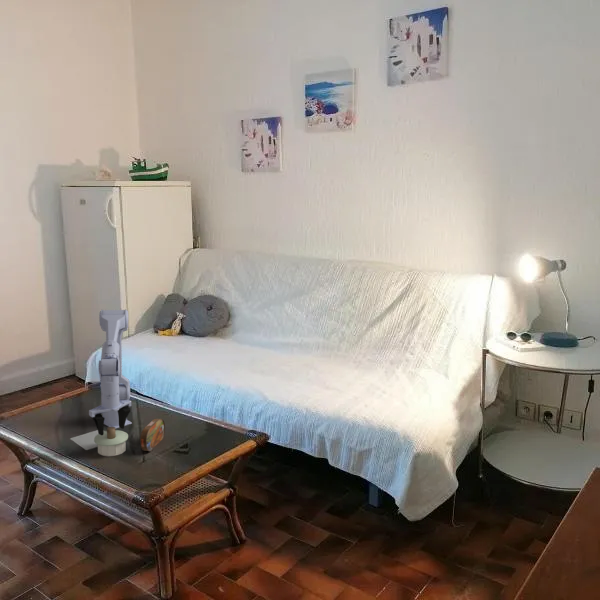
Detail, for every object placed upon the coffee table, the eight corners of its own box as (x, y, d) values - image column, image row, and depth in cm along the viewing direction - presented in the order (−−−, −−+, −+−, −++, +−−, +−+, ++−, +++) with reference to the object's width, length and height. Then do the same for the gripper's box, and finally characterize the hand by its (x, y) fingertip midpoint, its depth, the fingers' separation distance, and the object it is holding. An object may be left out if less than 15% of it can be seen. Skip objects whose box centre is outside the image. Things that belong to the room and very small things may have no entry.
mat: (69, 439, 209) (69, 438, 209) (101, 429, 217) (101, 428, 217) (86, 451, 201) (86, 450, 201) (118, 440, 209) (118, 439, 209)
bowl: (93, 450, 202) (92, 438, 201) (117, 442, 208) (116, 431, 207) (106, 460, 196) (106, 447, 195) (130, 451, 202) (130, 439, 201)
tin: (147, 455, 199) (147, 432, 198) (138, 454, 200) (138, 431, 198) (166, 436, 214) (165, 415, 212) (157, 435, 215) (157, 414, 213)
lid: (88, 438, 201) (87, 427, 200) (117, 429, 209) (117, 419, 208) (104, 449, 193) (104, 438, 193) (134, 439, 201) (134, 428, 201)
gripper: (95, 402, 189) (97, 441, 192) (135, 391, 200) (136, 428, 203) (85, 395, 194) (86, 434, 197) (124, 385, 205) (125, 422, 207)
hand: (111, 430), depth 200 cm, fingers open, 7 cm apart
